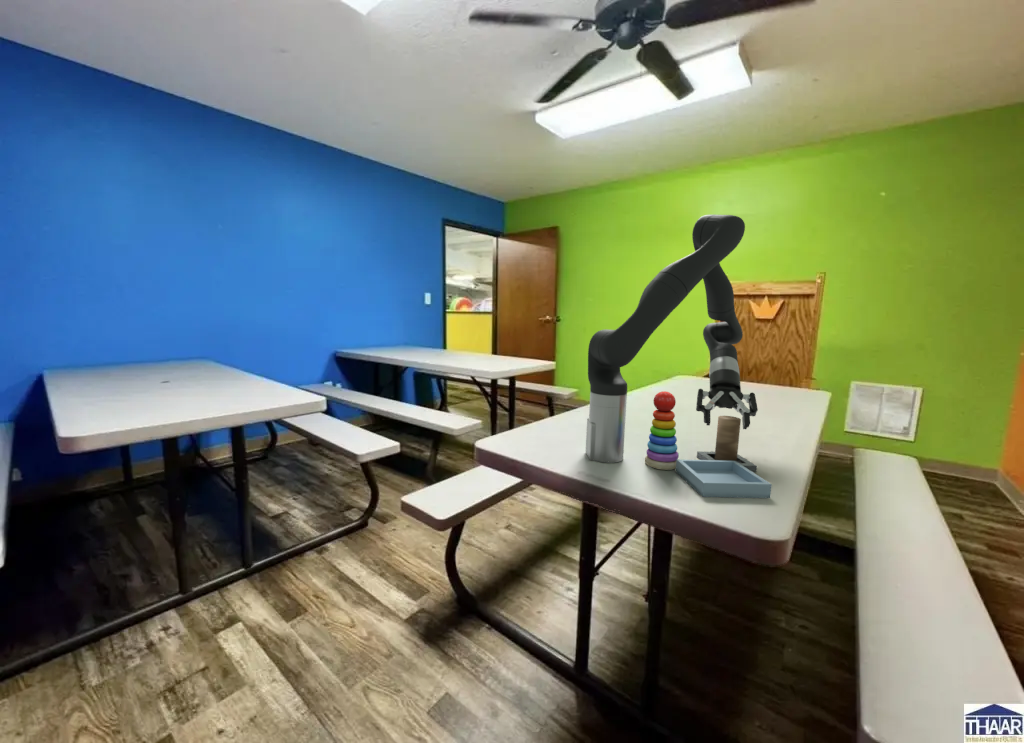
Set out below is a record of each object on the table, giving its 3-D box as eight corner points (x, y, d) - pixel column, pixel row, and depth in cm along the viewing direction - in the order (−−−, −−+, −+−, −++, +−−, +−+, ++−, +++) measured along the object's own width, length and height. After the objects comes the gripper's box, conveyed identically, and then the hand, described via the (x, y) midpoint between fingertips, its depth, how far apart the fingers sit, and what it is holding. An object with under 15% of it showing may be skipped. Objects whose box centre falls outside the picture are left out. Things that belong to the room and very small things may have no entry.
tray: (702, 496, 84) (703, 482, 84) (675, 471, 98) (676, 459, 97) (770, 498, 84) (771, 484, 84) (733, 472, 98) (734, 460, 97)
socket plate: (715, 470, 99) (715, 464, 99) (696, 456, 109) (697, 451, 109) (756, 471, 99) (756, 465, 99) (734, 457, 109) (734, 452, 109)
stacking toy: (651, 457, 107) (656, 387, 105) (682, 464, 102) (688, 391, 100) (639, 465, 101) (644, 391, 99) (672, 473, 96) (678, 395, 94)
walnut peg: (720, 467, 101) (724, 420, 100) (710, 460, 106) (714, 415, 105) (740, 467, 101) (745, 420, 100) (729, 460, 106) (734, 415, 105)
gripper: (698, 366, 114) (698, 415, 105) (756, 369, 109) (761, 421, 100) (695, 382, 119) (695, 430, 110) (750, 386, 115) (755, 436, 105)
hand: (726, 425), depth 105 cm, fingers open, 8 cm apart
